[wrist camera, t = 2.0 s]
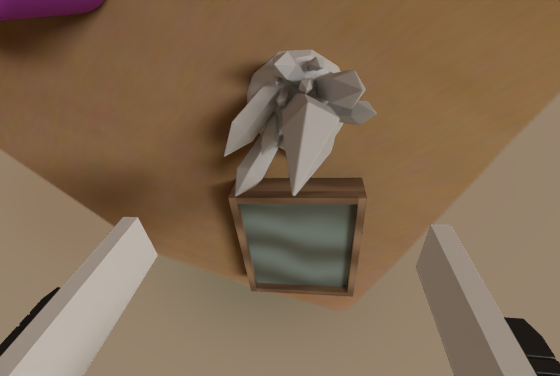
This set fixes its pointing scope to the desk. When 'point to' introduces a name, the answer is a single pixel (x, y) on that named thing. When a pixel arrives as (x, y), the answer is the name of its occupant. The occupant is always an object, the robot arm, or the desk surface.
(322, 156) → the crystal
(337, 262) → the wooden tray
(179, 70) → the desk surface
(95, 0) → the beverage can
